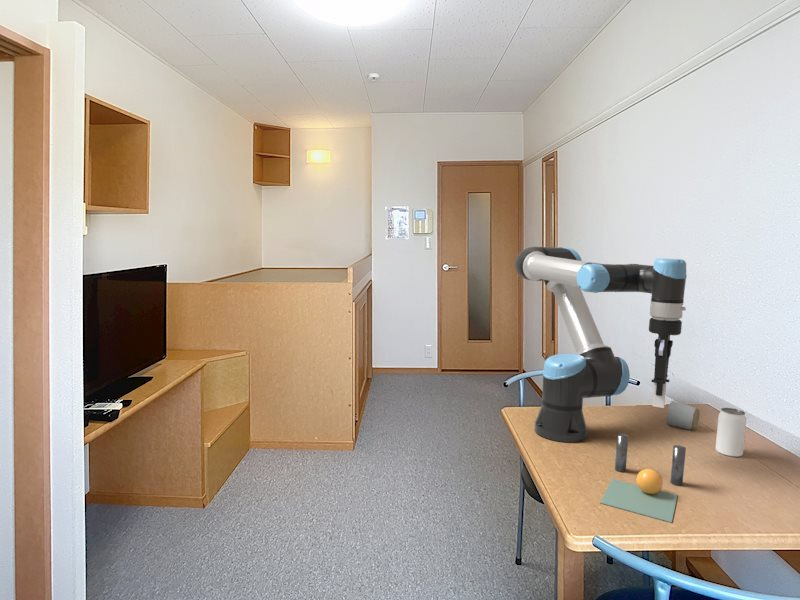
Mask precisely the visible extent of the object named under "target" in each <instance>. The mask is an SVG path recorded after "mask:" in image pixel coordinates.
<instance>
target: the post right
mask: <svg viewBox="0 0 800 600" xmlns="http://www.w3.org/2000/svg"><path fill="white" fill-rule="evenodd" d="M686 450H687V448H686V447H685V446H683V445H680V444H679V445H678V444H675V445H673V448H672V460H671V472H670V484H672V485H673V486H678V487H682V486H683V483H684V473H685V472H684V471H685V462H686Z"/></svg>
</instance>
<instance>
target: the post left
mask: <svg viewBox="0 0 800 600" xmlns="http://www.w3.org/2000/svg"><path fill="white" fill-rule="evenodd" d="M629 438H630V437H629V435H627V434H624V433H617V436H616V449H615V460H614V461H615V462H614V470H615V471H616V472H619V473H626V471H627V461H628V450H629V449H628V448H629Z"/></svg>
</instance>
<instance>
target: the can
mask: <svg viewBox="0 0 800 600" xmlns="http://www.w3.org/2000/svg"><path fill="white" fill-rule="evenodd" d="M720 410H721V411H720V412H719V413H718V419H717V429H716V439H715V451H716V452H717V453H718V454H721V455H723V456H726V457H731V458H741V457H742V456H743V454H744V447H745V439H746V426H747V417H746V412H745V411H744V410H741V409H737V408H734V407H733V408H732V407H722V408H721V409H720Z"/></svg>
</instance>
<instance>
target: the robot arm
mask: <svg viewBox="0 0 800 600" xmlns="http://www.w3.org/2000/svg"><path fill="white" fill-rule="evenodd" d="M514 269H515V271H516V273H517V274H518V276H519V277H521V278H522V279H523V280H526V281H532V282H533V281H534V282H535V281H536V282H539V281H541V282H544V285H545V287H546V289H547V291H548V292H552V293H553V296H554V298H555V301H556V302H557V306H558V309H559V311H560V313H561V316H562V319H563V321H564V324H565V326H566V329H567V331H568V334H569V337H570V340H571V341H572V344H573V347H574V349H575V352H576V354H575V353H568V354H567V353H561V354H560V353H558V354H554V355H551V356H549V357H547V358H546V360H545V361H544V363H543V364H544V366H543V370H542V375H543V376H542V377H543V378H542V393H541V394H542V395H541V406H540V409H539V411H538V414H537V416H536V419H535V420H534V421H535V422H534V426H533V427H534V429H533V430H534V433H536V434H537V435H539V436H540V437H543V439H544V438H545V439H547V440H551V441H556V442H564V443H578V442H582V441H585V440H586V439H587V437H588V426H587V423H586V420H585V417H584V416H585V415H584V412H583V403H584V402H583V401H584V399H588V398H589V399H591V398H601V397H605V398H606V397H608V398H609V397H612V396H618V395H620V394H622V393H624V391H626V389H627V388H628V385H629V381H630V378H631V377H630V375H631V374H630V368H629V365H628V363H627V362H626V360H625V359H623V358H622V357H620V356H615V354H614V351H613V350H612V348H611V346H608V345H606V344H604V341H603V339H602V337H601V334H600V331H599V330H598V326H597V325H596V322H595V320H594V318H593V315H592V312H591V310H590V308H589V306H588V303H587V301H586V298H585V296H584V294H583V292H585V293H594V294H595V293H596V294H597V293H644V294H651V299H650V308H649V316H650V319H649V323H648V331H649V332H650V333H652V334H657V335H658V337H657V338H655V340H654V357H655V358H654V375H653V376H654V377H653V379H651V383H653V395H652V397H653V398H652V407H655V408H661V409H664V408H665V402H666V394H667V393H666V390H667V383H670V379H668V376H669V375H668V371H669V370H668V369H669V362H670V361H669V360H670V357H671V355H672V354H671V353H672V347H673V343H674V341H673V340H671V336H679V335H681V334H682V325H683V321H682V320H681V319H682V318H683V314H684V313H683V311H686V309H687V308H686V306H684V300H685V299H684V298H685V289H686V282H687V262H686V260H684V259H679V258H678V259H677V258H656V259H655V260H654V262H653V265H647V264H639V263H626V264H615V263H614V264H613V263H612V264H611V263H610V264H609V263H597V262H591V261H586V260H585V261H583V260H582V258H581V255H580V254H579V252H577V251H576V250H575V249H573V248H570V247H565V246H559V247H553V246H551V247H550V246H549V247H548V246H530V247H527V248H525V249H523V250H521V251H520V252H519V253H518V254H517V256H516V258H515V261H514Z"/></svg>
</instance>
